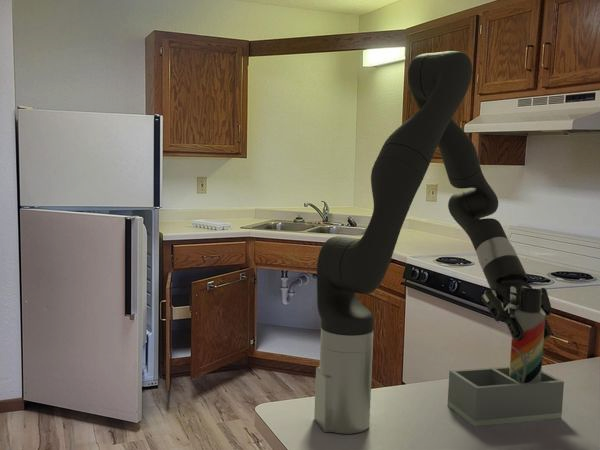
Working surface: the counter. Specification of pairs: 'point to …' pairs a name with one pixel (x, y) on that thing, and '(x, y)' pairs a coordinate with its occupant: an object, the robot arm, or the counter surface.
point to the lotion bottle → (528, 338)
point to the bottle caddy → (503, 396)
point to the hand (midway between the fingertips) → (533, 337)
